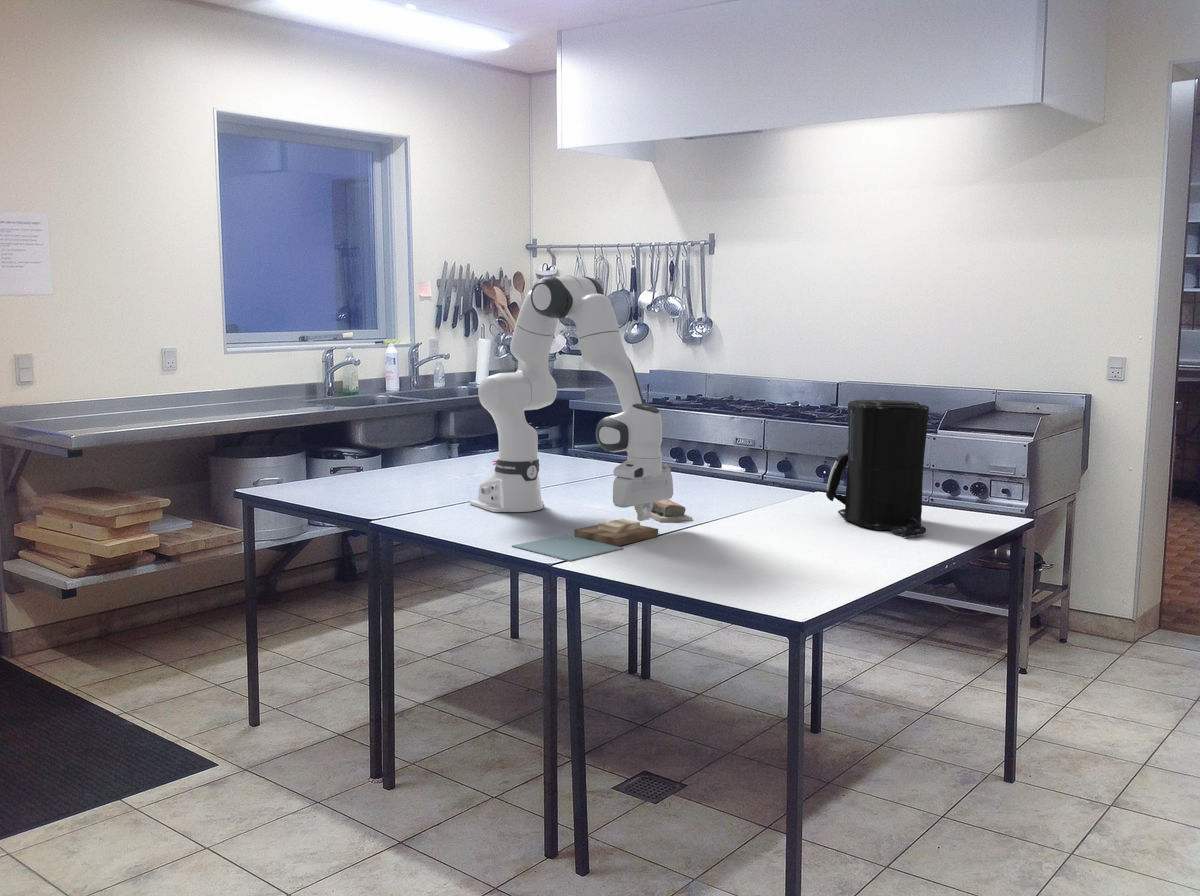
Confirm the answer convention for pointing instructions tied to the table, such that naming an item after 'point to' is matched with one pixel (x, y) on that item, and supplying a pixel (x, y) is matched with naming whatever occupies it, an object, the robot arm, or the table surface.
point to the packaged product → (668, 511)
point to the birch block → (619, 525)
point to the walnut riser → (616, 535)
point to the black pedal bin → (883, 466)
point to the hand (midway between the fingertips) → (643, 520)
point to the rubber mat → (567, 547)
